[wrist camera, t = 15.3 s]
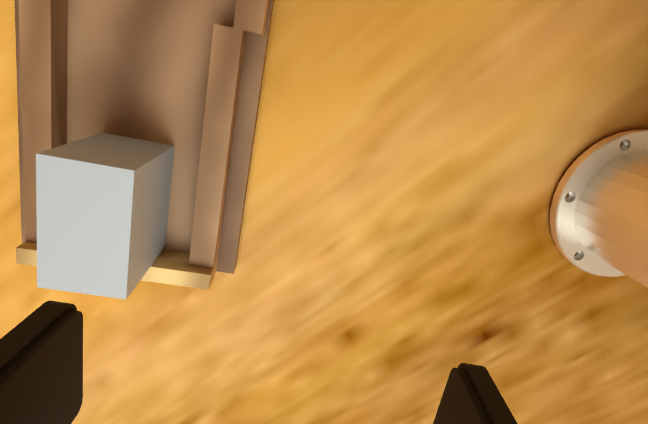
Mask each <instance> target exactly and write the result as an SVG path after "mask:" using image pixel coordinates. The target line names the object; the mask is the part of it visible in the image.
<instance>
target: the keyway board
mask: <svg viewBox="0 0 648 424" xmlns="http://www.w3.org/2000/svg"><path fill="white" fill-rule="evenodd" d="M273 1H274V0H15V26H16V60H17V93H18V127H19V160H20V194H21V227H22V244H21V245H20V246H18V247H16V258H17V263H18V264H25V265H32V266H37V212H36V153H39V152H42V151H45V150H49V149H52V148H55V147H58V146H61V145H64V144H68V143H71V142H74V141H77V140H80V139H84V138H87V137H90V136H93V135H96V134H99V133H108V134H113V135H119V136H124V137H130V138H135V139H140V140H146V141H151V142H157V143H162V144H168V145H173V146H175V149H174V160H173V171H172V181H171V192H170V203H169V214H168V225H167V235H166V246H165V248H164V249H163V250H162V252H161V253H160V254H159V256H158V257H157V258H156V260H155V261H154V262H153V264H152V265H151V267H150V268H149V269H148V271H147V272H146V273H145V275H144V276H143V277H142V279H141V280H142V281H149V282H157V283H164V284H171V285H179V286H186V287H193V288H201V289H208V290H209V288H210V285H211V283H212V280H213V278H214V275H215V273H216V271H219V272H226V273H233V274H234V271H235V267H236V261H237V254H238V247H239V240H240V233H241V226H242V219H243V212H244V205H245V198H246V191H247V184H248V177H249V170H250V163H251V156H252V149H253V142H254V135H255V128H256V121H257V114H258V107H259V100H260V93H261V86H262V79H263V72H264V65H265V58H266V51H267V44H268V37H269V30H270V23H271V15H272V8H273Z"/></svg>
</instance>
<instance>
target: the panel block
mask: <svg viewBox="0 0 648 424" xmlns="http://www.w3.org/2000/svg"><path fill="white" fill-rule="evenodd" d="M174 149H175V146H173V145H168V144H162V143H157V142H151V141H146V140H140V139H135V138H130V137H124V136H119V135H113V134H108V133H99V134H96V135H93V136H90V137H87V138H84V139H80V140H77V141H74V142H71V143H68V144H64V145H61V146H58V147H55V148H52V149H49V150H45V151H42V152H39V153H36V212H37V287H40V288H47V289H54V290H62V291H69V292H76V293H84V294H91V295H98V296H105V297H113V298H120V299H127V297H128V296H129V295H130V293H131V292H132V291H133V289H134V288H135V287H136V285H137V284H138V283H139V281H140V280H141V279H142V277H143V276H144V275H145V273H146V272H147V271H148V269H149V268H150V267H151V265H152V264H153V262H154V261H155V260H156V258H157V257H158V256H159V254H160V253H161V252H162V250H163V249H164V248H165V246H166V235H167V225H168V214H169V203H170V192H171V181H172V171H173V160H174Z"/></svg>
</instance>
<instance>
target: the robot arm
mask: <svg viewBox="0 0 648 424" xmlns="http://www.w3.org/2000/svg"><path fill="white" fill-rule="evenodd" d="M550 228H551V234H552V237H553V240H554V242H555V245H556V247H557V248H558V250H559V251H560V252H561V254H562V255H563V256H564V257H565V258H566V259H567V260H568V261H570V262H571V263H572V264H574V265H575V266H577V267H578V268H580V269H581V270H583V271H586V272H588V273H591V274H593V275H599V276H605V277H616V276H624V275H627V276H629V277H630V278H632V279H633V280H635V281H637V282H638V283H640V284H642V285H643V286H645V287H646V288H648V129H644V130H630V131H625V132H620V133H617V134H614V135H612V136H609V137H607V138H604V139H603V140H601V141H599V142H598V143H596V144H594V145H593V146H591V147H590V148H589V149H587V150H586V151H585V152H584V153H583V154H581V155H580V156H579V157H578V158H577V159H576V160H575V161H574V162H573V164H572V165H571V166H570V167H569V168H568V169H567V171H566V172H565V174H564V176H563V177H562V179H561V180H560V182H559V184H558V186H557V189H556V191H555V193H554V196H553V200H552V204H551V209H550ZM82 398H83V314H82V312H80V311H77V308H76V306H75V305H74V304H69V303H62V302H56V301H47V302H45V303H44V304H43V305H41V306H40V307H39V308H38V309H36V310H35V311H34V312H33V313H32V314H30V315H29V316H28V317H27V318H26V319H24V320H23V321H22V322H21V323H20V324H18V325H17V326H16V327H15V328H13V329H12V330H11V331H10V332H9V333H7V334H6V335H5V336H4V337H3V338H1V339H0V424H71V423H72V421H73V420H74V419H75V417H76V416H77V414H78V412H79V410H80V407H81V404H82ZM433 424H517V422H516V420H515V419H514V417H513V415H512V413H511V412H510V410H509V408H508V406H507V405H506V403H505V401H504V399H503V397H502V396H501V394H500V392H499V390H498V389H497V387H496V385H495V383H494V382H493V380H492V378H491V376H490V374H489V373H488V371H487V369H486V368H485V367H483V366H479V365H472V364H466V363H461V364H460V365H459V366H458V368H453V369H452V370H451V372H450V375H449V378H448V381H447V384H446V387H445V390H444V393H443V396H442V399H441V402H440V405H439V408H438V411H437V414H436V417H435V420H434V423H433Z"/></svg>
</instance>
